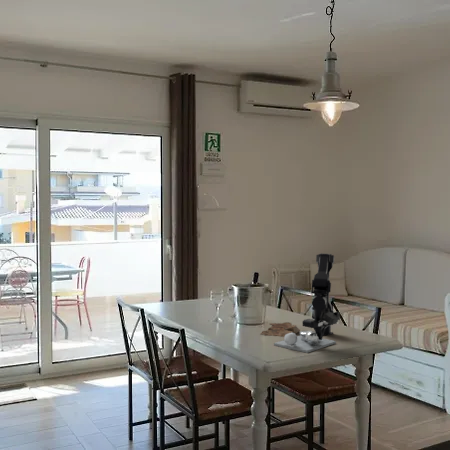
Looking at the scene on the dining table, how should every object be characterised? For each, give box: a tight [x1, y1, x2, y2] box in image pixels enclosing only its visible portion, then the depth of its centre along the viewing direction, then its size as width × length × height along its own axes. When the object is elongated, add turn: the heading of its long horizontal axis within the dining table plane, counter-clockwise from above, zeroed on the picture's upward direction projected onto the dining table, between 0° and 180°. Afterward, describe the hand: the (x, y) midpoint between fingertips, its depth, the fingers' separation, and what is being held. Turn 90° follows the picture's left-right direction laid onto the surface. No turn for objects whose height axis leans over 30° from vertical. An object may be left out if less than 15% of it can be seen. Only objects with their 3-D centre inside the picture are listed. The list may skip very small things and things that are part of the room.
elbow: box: [299, 330, 319, 345], centre depth 253 cm, size 15×8×5 cm, turn 3°
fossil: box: [259, 322, 301, 338], centre depth 276 cm, size 20×16×5 cm
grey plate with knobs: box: [273, 332, 337, 354], centre depth 253 cm, size 23×18×6 cm
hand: (320, 339), depth 249 cm, fingers closed
